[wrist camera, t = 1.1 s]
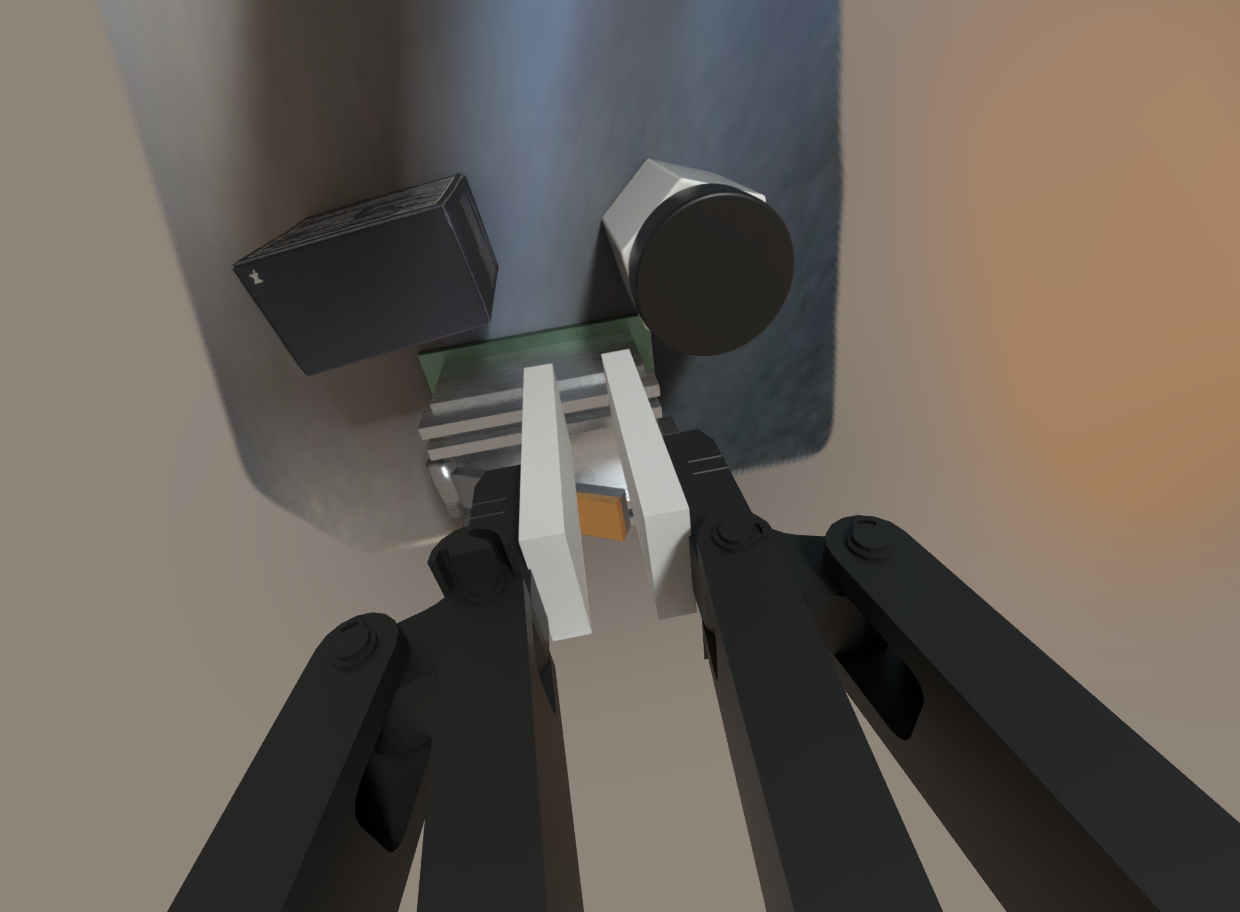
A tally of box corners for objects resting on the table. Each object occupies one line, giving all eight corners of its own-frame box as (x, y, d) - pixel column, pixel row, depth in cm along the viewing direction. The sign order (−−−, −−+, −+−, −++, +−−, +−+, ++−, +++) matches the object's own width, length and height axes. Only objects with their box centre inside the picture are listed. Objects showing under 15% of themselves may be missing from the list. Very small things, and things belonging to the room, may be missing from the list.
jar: (591, 279, 37) (613, 347, 27) (612, 148, 32) (647, 172, 23) (710, 298, 39) (769, 368, 29) (745, 177, 34) (829, 210, 25)
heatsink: (418, 352, 38) (392, 412, 31) (647, 311, 39) (673, 361, 31) (475, 497, 46) (464, 571, 39) (663, 461, 47) (686, 528, 40)
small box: (356, 316, 36) (302, 384, 28) (301, 217, 32) (218, 261, 24) (503, 273, 36) (494, 330, 27) (464, 169, 32) (440, 197, 23)
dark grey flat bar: (455, 499, 38) (440, 516, 37) (435, 451, 36) (418, 468, 34) (634, 528, 34) (624, 549, 32) (626, 474, 31) (615, 495, 30)
